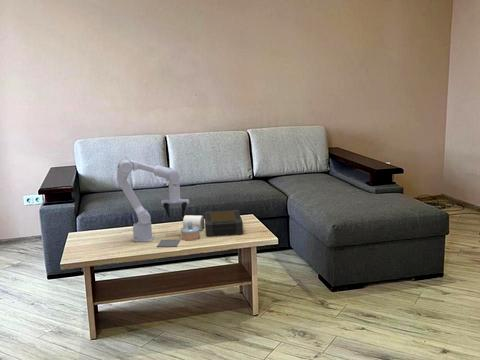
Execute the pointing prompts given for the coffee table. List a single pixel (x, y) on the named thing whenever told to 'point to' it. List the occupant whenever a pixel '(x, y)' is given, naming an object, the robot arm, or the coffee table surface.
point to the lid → (190, 228)
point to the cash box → (223, 223)
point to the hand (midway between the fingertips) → (176, 216)
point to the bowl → (190, 236)
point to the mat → (168, 243)
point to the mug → (194, 221)
